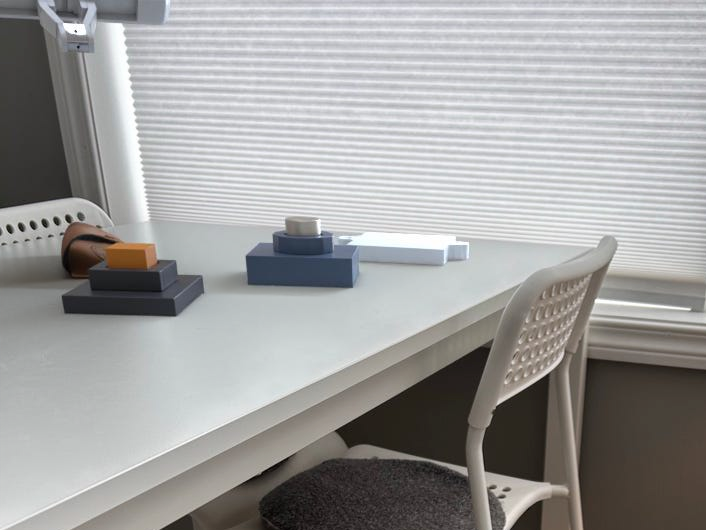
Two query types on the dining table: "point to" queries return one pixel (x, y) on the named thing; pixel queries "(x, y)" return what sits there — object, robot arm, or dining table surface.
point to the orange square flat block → (131, 255)
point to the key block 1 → (134, 291)
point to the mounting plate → (407, 248)
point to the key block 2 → (303, 262)
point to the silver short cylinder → (302, 226)
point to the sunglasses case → (84, 248)
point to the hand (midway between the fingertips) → (78, 47)
